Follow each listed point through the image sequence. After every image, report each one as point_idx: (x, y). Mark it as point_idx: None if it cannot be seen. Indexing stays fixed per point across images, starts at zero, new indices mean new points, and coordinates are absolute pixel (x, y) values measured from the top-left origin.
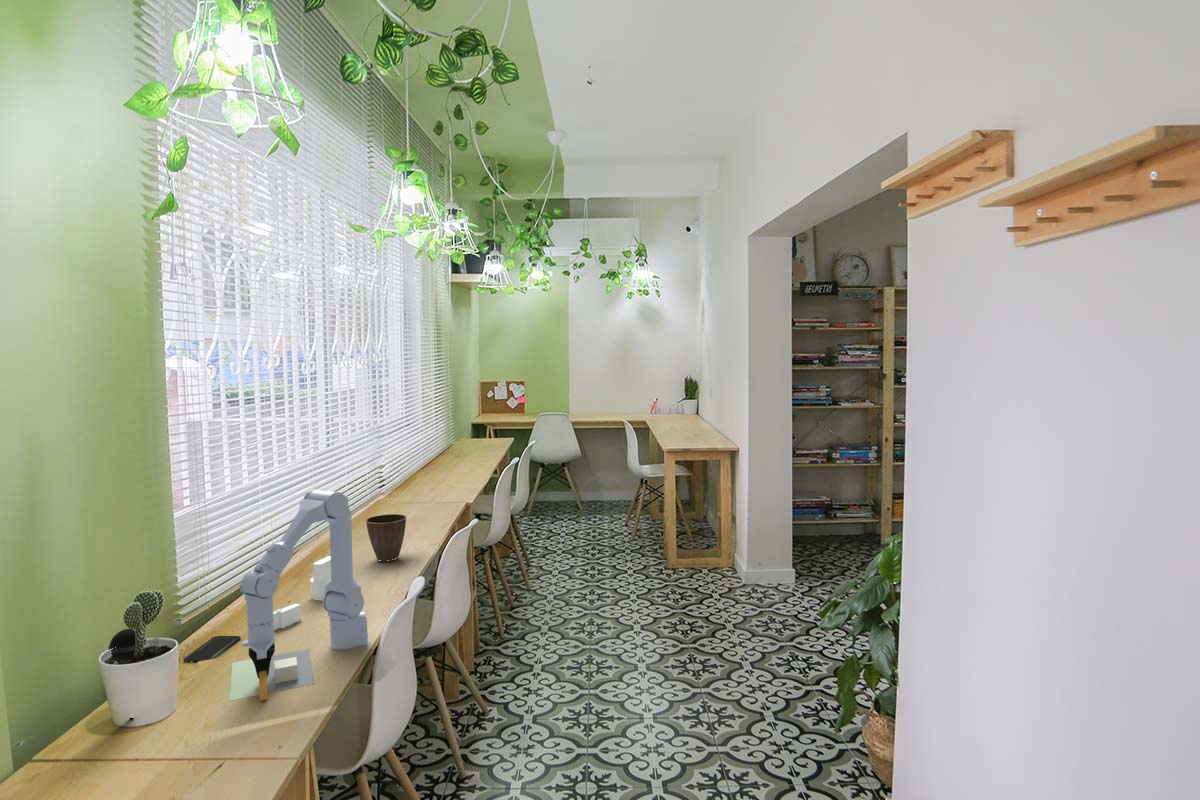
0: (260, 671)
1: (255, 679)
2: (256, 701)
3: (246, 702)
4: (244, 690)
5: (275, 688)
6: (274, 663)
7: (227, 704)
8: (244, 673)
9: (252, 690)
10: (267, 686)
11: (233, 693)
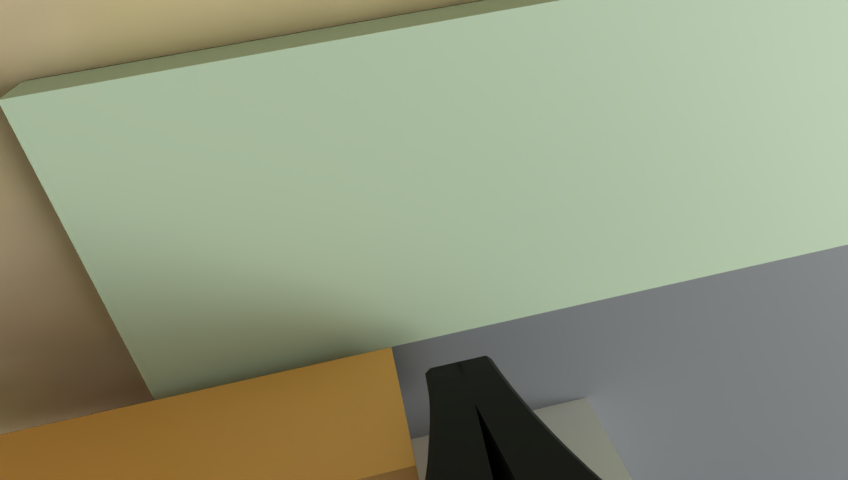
0: (414, 478)
1: (565, 262)
2: (104, 339)
3: None
4: (298, 218)
5: None
6: None
7: (50, 45)
8: (797, 111)
9: (277, 299)
10: None
11: (237, 104)
